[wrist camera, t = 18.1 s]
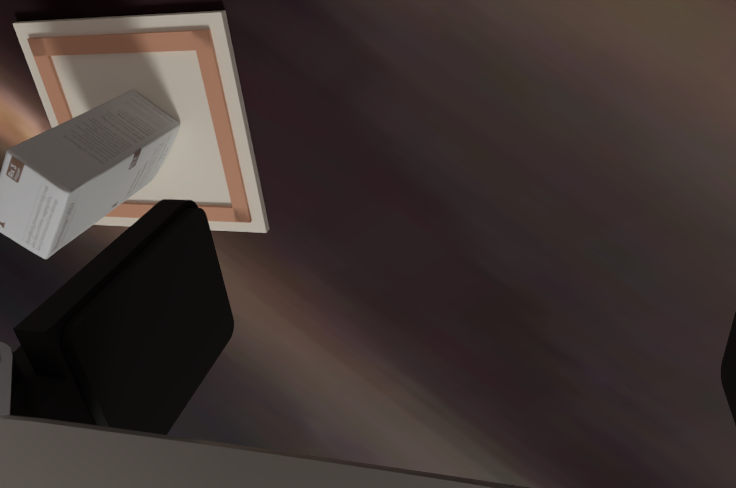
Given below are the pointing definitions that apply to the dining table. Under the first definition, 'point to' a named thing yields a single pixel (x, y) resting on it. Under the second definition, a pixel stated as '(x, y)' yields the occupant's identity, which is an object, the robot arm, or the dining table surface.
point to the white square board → (159, 103)
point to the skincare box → (81, 171)
